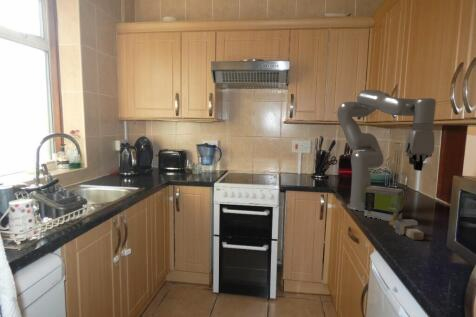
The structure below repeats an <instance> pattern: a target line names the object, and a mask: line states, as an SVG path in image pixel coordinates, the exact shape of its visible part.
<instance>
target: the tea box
mask: <svg viewBox="0 0 476 317" xmlns="http://www.w3.org/2000/svg"><path fill="white" fill-rule="evenodd" d="M404 192H405V191H404V189H401V188H394V187H387V186H378V185H371V186H370V187H368V188H366V193H365V211H363V213H364V217H365V216H367V217H366V218H370V217H372V219H375V218H377V219H376V220H380V219H381V221H385V222H389V219H390V218H393V215H394V213H399V216H398V219H403V208H404V207H403V205H404Z"/></svg>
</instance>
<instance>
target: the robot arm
mask: <svg viewBox="0 0 476 317" xmlns="http://www.w3.org/2000/svg"><path fill="white" fill-rule="evenodd" d="M436 103H437V101H436V99H435V98H429V97H423V98H422V97H421V98H399V97H394V96H390V94H389V93H387V92H383V91H382V90H375V89H363V90H361V91H360V92H359V93H357V96H356V101H344V102H342V103H341V104H339V107H338V109H337V115H336V116H337V120H338V123H339V125H340V127H341V129H342V130H343V131H342V132H343V134H344V137H345V139H346V142H347V145H348V147H349V149H350V150H352V151H355V152H354V153H352V155H351V157H350V164H351V188H350V198H349V200H350V203H348V204H347V208H348V209H349V210H352V211H356V210H358V212H365V193H366V188H368V187H370V186H372V185H371V182H372V176H371V173H370V170H369V169H376V168H380V167H382V166H383V164H384V161H385V159H384V155H383V152H382V149H381V147H380V144H379V142H378V140H377V138H376V136H375V135H374V134H372V133H369V132H363V131H361V130H362V129H360V126H359V124H358V122H357V121H356V120H355V119H354V118H366V117H367V116H370V115H371V114H373V112H375V111H380V112H381V113H384V114H387V115H392V116H398V117H399V116H400V117H401V116H403V117H404V116H406V117H412V126H411V130H409V131H408V135H407V139H406V143H405V151H404V152H405V153H406V157H409V158H411V159H412V161H413V171H418V172H419V171H423V167H424V166H423V165H424V162H425V161H426V159H428V158H432V157H433V154H434V150H435V132H434V131H433V129H435V128H436V124H435V125H434V122H435V114H436V113H435V112H436V107H437V106H436Z"/></svg>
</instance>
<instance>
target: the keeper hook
mask: <svg viewBox="0 0 476 317" xmlns="http://www.w3.org/2000/svg"><path fill="white" fill-rule="evenodd" d="M418 224H419V222H418V220H415V219H413V218H412V219H411V218H410V219H409V218H408V219H405V218H404V219H403V218H402V219H396V224H395V228H394V233H395V232H396V233H395V234H397V233H398V234H399V235H398V234H397V235H398V236H405V234H404V232H405V225H410V226H418Z"/></svg>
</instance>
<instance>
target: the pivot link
mask: <svg viewBox="0 0 476 317" xmlns="http://www.w3.org/2000/svg"><path fill="white" fill-rule="evenodd" d="M398 216H399V213H394V215H393V218H390V219H389V221H388V226H390V227H392V228H394V229H395V224H396V219H398ZM405 235H406V236H407V237H408V238H410V239H411V240H419V241H422V240H424V235H425V234H424V232H423V231H421V230H419V229H418V228H416V227H414V226H413V225H405V232H404V236H405Z"/></svg>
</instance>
